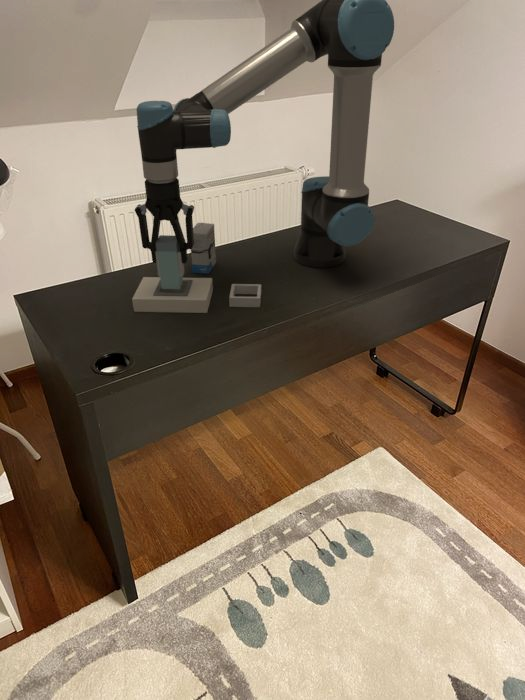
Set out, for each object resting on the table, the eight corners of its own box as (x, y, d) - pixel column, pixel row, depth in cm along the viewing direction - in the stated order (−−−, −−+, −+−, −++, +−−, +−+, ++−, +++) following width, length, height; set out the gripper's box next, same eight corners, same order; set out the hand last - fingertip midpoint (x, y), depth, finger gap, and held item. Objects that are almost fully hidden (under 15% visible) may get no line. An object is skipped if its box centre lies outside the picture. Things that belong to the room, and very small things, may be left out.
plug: (183, 280, 132) (179, 235, 126) (180, 289, 128) (176, 243, 122) (164, 280, 133) (159, 235, 126) (161, 289, 129) (155, 243, 122)
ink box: (208, 274, 146) (206, 234, 139) (191, 273, 147) (188, 232, 140) (217, 262, 153) (214, 223, 146) (200, 260, 153) (198, 221, 147)
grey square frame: (261, 293, 136) (261, 284, 135) (260, 307, 130) (260, 298, 129) (232, 292, 137) (231, 283, 135) (229, 306, 130) (229, 297, 129)
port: (212, 290, 138) (212, 277, 136) (207, 312, 128) (206, 299, 126) (145, 289, 138) (143, 276, 136) (134, 311, 128) (131, 297, 126)
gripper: (203, 174, 119) (208, 268, 132) (126, 173, 119) (139, 267, 132) (198, 184, 113) (205, 282, 126) (117, 182, 113) (132, 280, 126)
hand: (171, 274), depth 129 cm, fingers closed on plug, 4 cm apart
